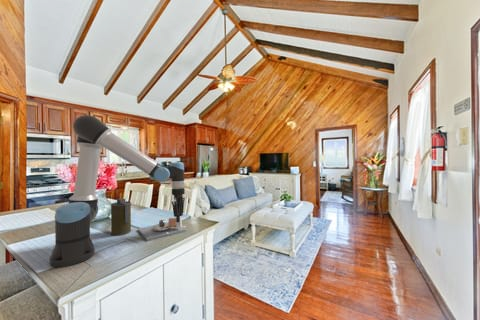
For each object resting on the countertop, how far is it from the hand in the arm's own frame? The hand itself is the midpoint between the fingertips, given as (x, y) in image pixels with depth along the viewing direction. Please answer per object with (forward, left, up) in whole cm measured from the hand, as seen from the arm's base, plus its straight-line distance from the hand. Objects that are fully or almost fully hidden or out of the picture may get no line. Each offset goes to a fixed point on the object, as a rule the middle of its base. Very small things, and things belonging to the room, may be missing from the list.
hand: (179, 227), depth 119 cm
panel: (-8, +7, -3) cm, 11 cm away
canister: (-27, +21, -3) cm, 34 cm away
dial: (-6, +6, -1) cm, 8 cm away
